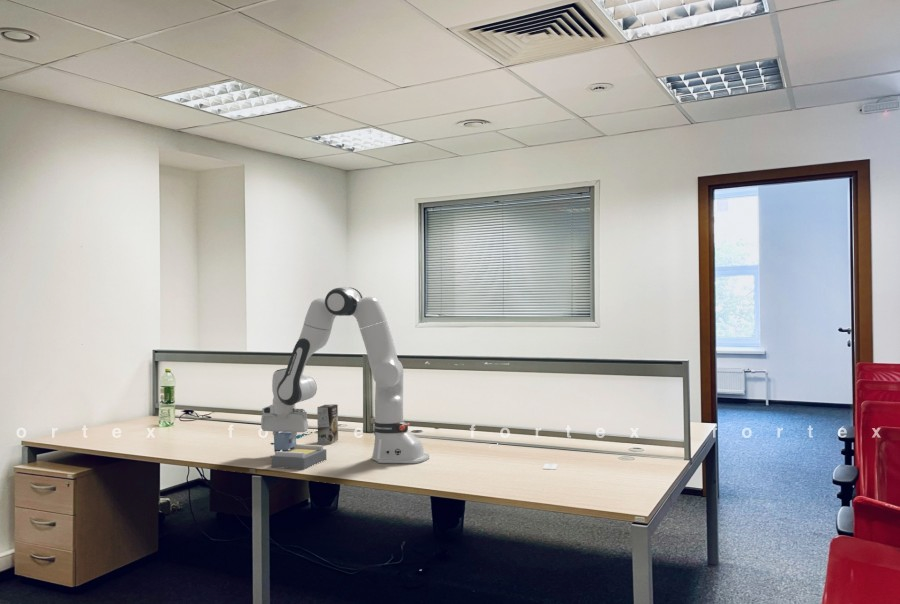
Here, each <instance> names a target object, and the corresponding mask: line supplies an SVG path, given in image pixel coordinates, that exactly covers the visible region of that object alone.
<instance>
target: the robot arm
mask: <svg viewBox="0 0 900 604" xmlns="http://www.w3.org/2000/svg"><path fill="white" fill-rule="evenodd" d="M337 316H339V317H342V316H345V317H346V316H347V317H349V316H350V317H351V316H352V317H354V318H355V320H356V323H357V324H358V328H359V331H360V335H361V338H362V341H363V344H364V347H365V351H366V355H367V359H368V365H369V367H370V371H371V373H372V374H371V375H372V378H373V381H374V382H375V386H374V389H375V391H374V392H375V393H374V423H373V434H374V443H373V444H374V445H373V451H372V455H371V459H372V460H373V461H375V462H376V463H378V464H419V463H423V462H425V461H427V460H428V459H430V454H429V453H427V452H425V450H424V445H423V442H422V441H421V440H420V439H419V438H418V437H416V436H415V435H414V434H413V433H412V432H411V431H409V428H408V427H409V426H410V422H408V423H407V422H405V420H404V367H403V364H402V362H401V361H400V360H399V359H398V355H397V351H396V347H395V343H394V340H393V337H392V336H393V335H392V333H391V330H390V327H389V324H388V320H387V317H386V315H385V312H384V309H383V308H382V305H381V304H380V302H379V300H378V299H377V298H375V297H373V296H366V297H363V295H362V293H361V292H360V291H358V289H356V288H354V287H347V286H342V287H336V288H333V289H331V290H330V291H329V292H328V293H327V294H326V296H325V298H316V299H313V300H312V302H311V303H310V304H309V306H308V309H307V313H306V315H305V317H304V321H303V326H302V329H301V331H300V332H301V333H300V335H299V337H298V339H297V341H296V343H295V345H294V348H293V349H292V352H291V355H290V357H289V362H288V364H287V366H286V368H285V367H284V368H280V369H277V370H275V371H274V372H273V374H272V378H271V379H272V380H271V381H272V382H271V388H272V389H271V390H272V394H273V395H272V396H273V398H272V404H270V405H269V406H265V407H263V408H262V409H261V413H262V415H261V420H260V424H261V425H260V427H261V430H262V431H263V432H272V435H273V436H274V434H277V433H281V432H291V435H292V437H291V438H290V439H289V443H294V442H295V437H296V436H297V435H298V433H307V432H308V430H309V424H308V423H309V421H308V414H307V411H306V410H305V409H304V408H296V404H298V403H300V402H305V401H307V400H310V399H312V398H314V396H315V395H316V393H317V389H318V387H317V383H316V381H315V379H314V378H313V377H311V376H307V375H304V374H303V373H304V370H305V367H306V364H307V362H308V360H309V359H310V357H311V356H313V355H314V353H316V352H317V351H319V350H320V349H322V348H324V347H325V346H326V345H327V343H328V341H329V338H330V336H331V332H332V329H333V323H334V321H335V319H336V317H337Z"/></svg>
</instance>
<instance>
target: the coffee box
mask: <svg viewBox="0 0 900 604" xmlns="http://www.w3.org/2000/svg"><path fill="white" fill-rule="evenodd" d="M338 406H339V405H338V404H324V405H321V406H317V409H316V411H317V430H318V431H317V445H331V444H332V445H333V443H336V442H337V440H338V441H339V421H338V420H339V417H338V416H339V415H338V414H339V413H338V412H339V411H338V410H339V409H338ZM335 441H336V442H335Z"/></svg>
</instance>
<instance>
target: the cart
mask: <svg viewBox="0 0 900 604" xmlns="http://www.w3.org/2000/svg"><path fill="white" fill-rule="evenodd" d="M291 437H292V435H291V432H279V433H277V434H274V435H273V443H274V444H273V449H274V450H273V451H274V453H275V452H276V451H283V452H285V451H288V450H290V449H293V448H295V446H294V445H295V444H297V439H296V437H295V442H294V443H289V439H290V438H291Z"/></svg>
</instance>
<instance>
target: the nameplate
mask: <svg viewBox="0 0 900 604" xmlns="http://www.w3.org/2000/svg"><path fill="white" fill-rule="evenodd" d="M308 432H309V431H306V433H308ZM304 435H305V436H308V434H305V432H302V433H301V434H297V435H296V438H297V439H301V438H303V437H305V436H304ZM302 436H303V437H302ZM270 445H274V442H270Z"/></svg>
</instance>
